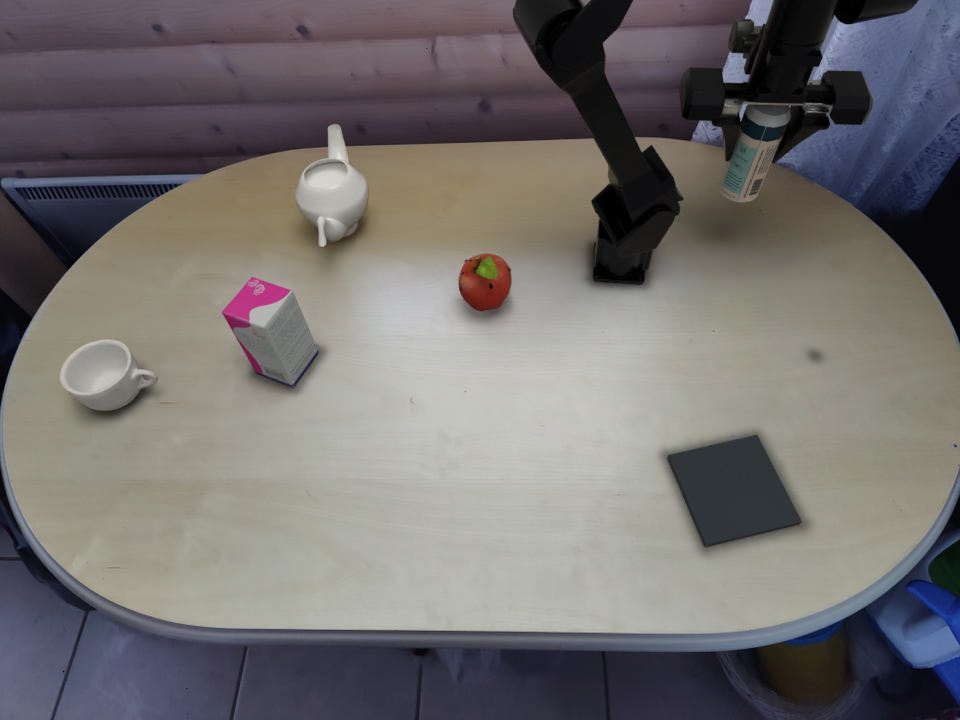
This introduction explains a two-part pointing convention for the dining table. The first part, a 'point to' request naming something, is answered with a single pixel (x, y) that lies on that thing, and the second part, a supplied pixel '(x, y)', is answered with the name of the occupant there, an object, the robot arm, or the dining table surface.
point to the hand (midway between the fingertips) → (749, 159)
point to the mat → (733, 490)
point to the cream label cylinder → (753, 151)
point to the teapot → (332, 191)
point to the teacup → (104, 375)
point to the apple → (485, 281)
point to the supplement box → (271, 331)
